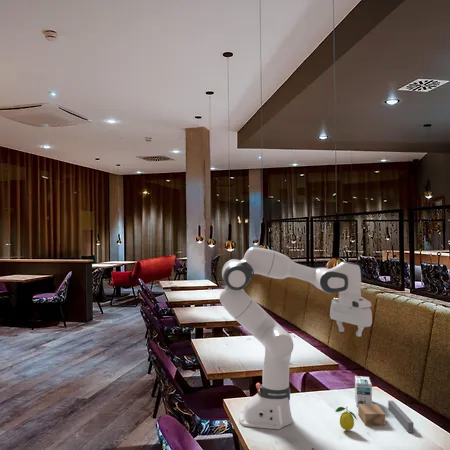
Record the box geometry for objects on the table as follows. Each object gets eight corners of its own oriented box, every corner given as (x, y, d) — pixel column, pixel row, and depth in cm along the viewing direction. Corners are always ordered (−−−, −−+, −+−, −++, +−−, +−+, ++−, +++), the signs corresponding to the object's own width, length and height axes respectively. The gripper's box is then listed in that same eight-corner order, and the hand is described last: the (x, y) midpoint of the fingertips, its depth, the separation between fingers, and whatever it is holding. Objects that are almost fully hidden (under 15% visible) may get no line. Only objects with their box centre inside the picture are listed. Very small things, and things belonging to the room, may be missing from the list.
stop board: (408, 432, 174) (408, 422, 174) (388, 409, 196) (388, 400, 196) (413, 432, 174) (413, 422, 174) (392, 409, 196) (392, 400, 196)
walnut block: (365, 426, 180) (365, 414, 180) (358, 415, 190) (358, 404, 190) (385, 426, 180) (385, 414, 180) (376, 415, 190) (376, 404, 190)
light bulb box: (372, 408, 197) (372, 384, 198) (356, 407, 199) (356, 383, 199) (369, 399, 208) (369, 376, 208) (354, 398, 209) (354, 375, 209)
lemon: (335, 428, 178) (335, 403, 178) (347, 426, 180) (347, 401, 180) (345, 436, 171) (345, 410, 171) (357, 433, 173) (357, 408, 173)
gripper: (326, 297, 192) (326, 329, 192) (363, 304, 175) (363, 339, 175) (337, 296, 196) (337, 327, 196) (374, 303, 178) (374, 337, 178)
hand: (349, 333), depth 185 cm, fingers open, 8 cm apart
